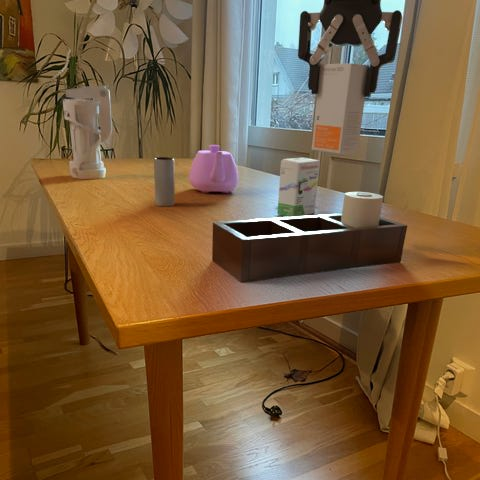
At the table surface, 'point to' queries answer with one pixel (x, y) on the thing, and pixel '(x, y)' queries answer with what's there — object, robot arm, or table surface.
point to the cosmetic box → (339, 108)
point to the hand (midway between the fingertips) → (340, 95)
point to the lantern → (88, 129)
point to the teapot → (213, 171)
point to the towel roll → (361, 209)
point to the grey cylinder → (164, 181)
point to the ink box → (298, 186)
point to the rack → (302, 246)
